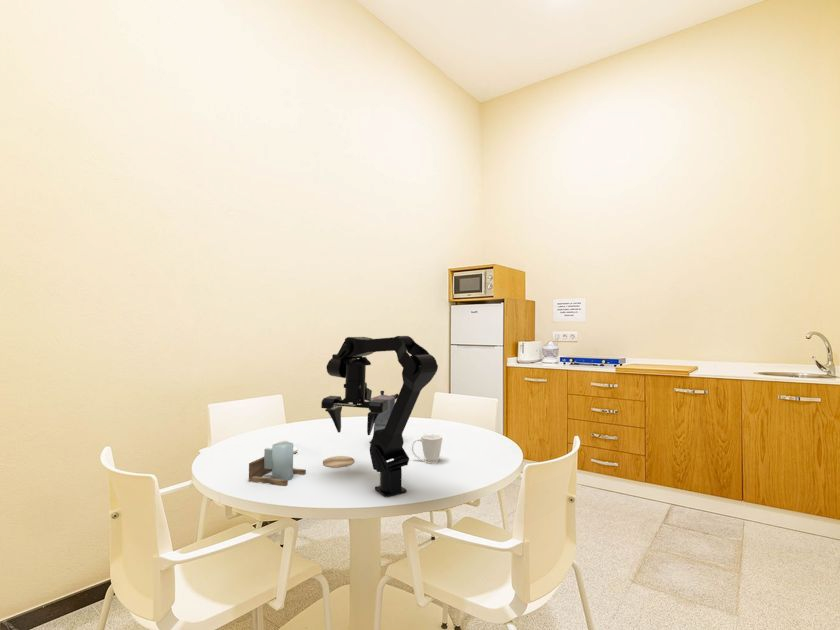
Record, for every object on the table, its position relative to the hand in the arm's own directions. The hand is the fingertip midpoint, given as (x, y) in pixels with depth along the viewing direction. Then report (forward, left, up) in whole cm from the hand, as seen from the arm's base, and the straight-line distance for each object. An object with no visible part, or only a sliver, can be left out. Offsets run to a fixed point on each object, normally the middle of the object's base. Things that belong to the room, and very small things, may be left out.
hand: (353, 433), depth 122 cm
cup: (+2, -26, -13) cm, 29 cm away
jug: (+12, +19, -13) cm, 25 cm away
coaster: (+16, -1, -13) cm, 20 cm away
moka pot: (+28, -24, -13) cm, 39 cm away
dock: (+12, +19, -13) cm, 25 cm away
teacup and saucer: (+33, +12, -13) cm, 38 cm away
